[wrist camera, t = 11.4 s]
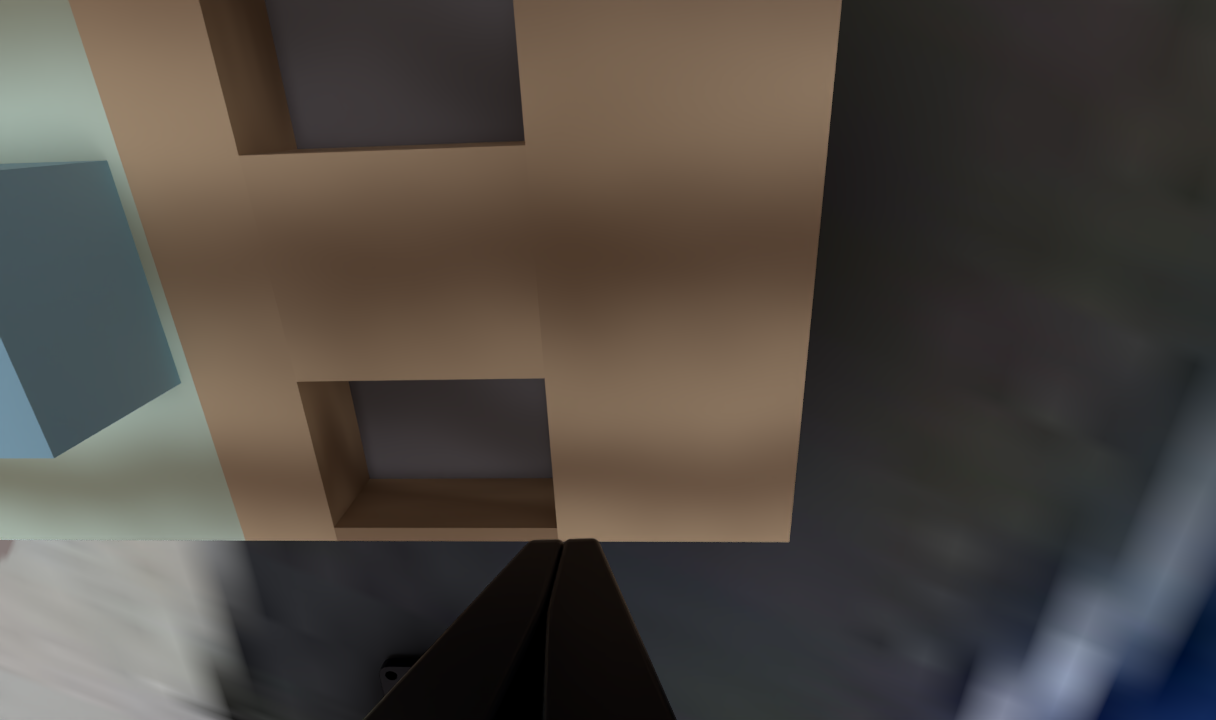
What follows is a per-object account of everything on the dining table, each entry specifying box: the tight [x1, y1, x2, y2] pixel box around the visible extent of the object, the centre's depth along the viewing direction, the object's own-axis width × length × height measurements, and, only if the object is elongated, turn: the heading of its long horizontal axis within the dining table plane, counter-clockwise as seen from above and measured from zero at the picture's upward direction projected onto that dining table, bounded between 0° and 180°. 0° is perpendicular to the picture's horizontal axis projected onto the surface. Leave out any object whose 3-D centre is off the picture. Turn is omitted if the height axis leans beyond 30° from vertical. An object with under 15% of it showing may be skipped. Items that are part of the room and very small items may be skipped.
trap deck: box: [0, 0, 842, 542], centre depth 16 cm, size 17×29×5 cm, turn 92°
